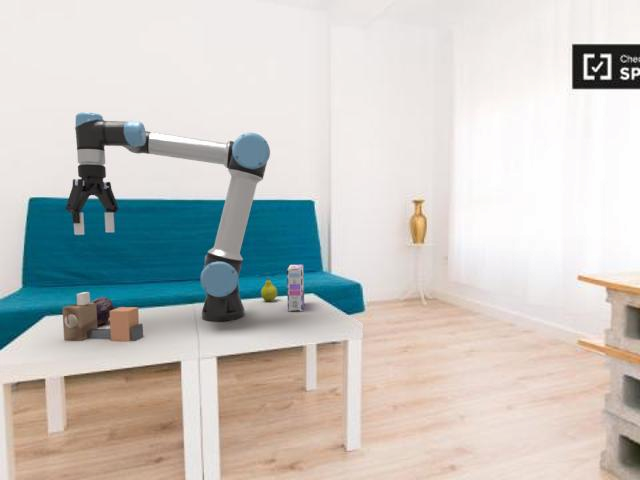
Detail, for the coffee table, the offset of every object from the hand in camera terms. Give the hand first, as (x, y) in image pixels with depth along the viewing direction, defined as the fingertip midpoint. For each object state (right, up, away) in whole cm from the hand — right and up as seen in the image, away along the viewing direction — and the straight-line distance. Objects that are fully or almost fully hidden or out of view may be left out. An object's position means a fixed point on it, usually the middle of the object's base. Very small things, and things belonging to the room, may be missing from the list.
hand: (95, 233), depth 129 cm
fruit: (+49, -28, +47) cm, 73 cm away
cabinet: (-4, -32, -1) cm, 32 cm away
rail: (+6, -32, -2) cm, 33 cm away
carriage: (+11, -32, -3) cm, 34 cm away
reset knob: (-3, -22, -1) cm, 22 cm away
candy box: (+61, -29, +34) cm, 75 cm away
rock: (-7, -32, +15) cm, 36 cm away
